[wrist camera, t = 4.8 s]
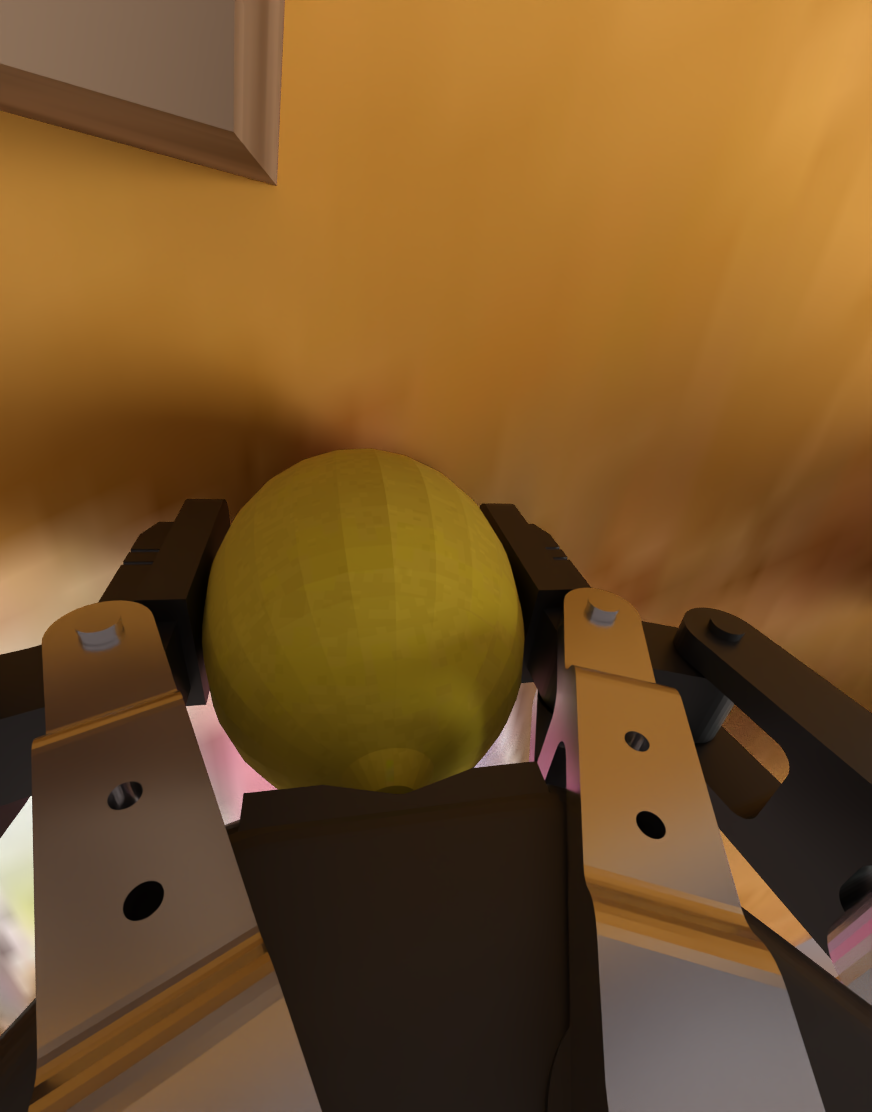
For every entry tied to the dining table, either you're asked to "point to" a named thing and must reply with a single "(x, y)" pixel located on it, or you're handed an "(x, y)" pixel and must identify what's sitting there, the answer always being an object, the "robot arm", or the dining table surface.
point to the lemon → (362, 626)
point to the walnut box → (152, 75)
